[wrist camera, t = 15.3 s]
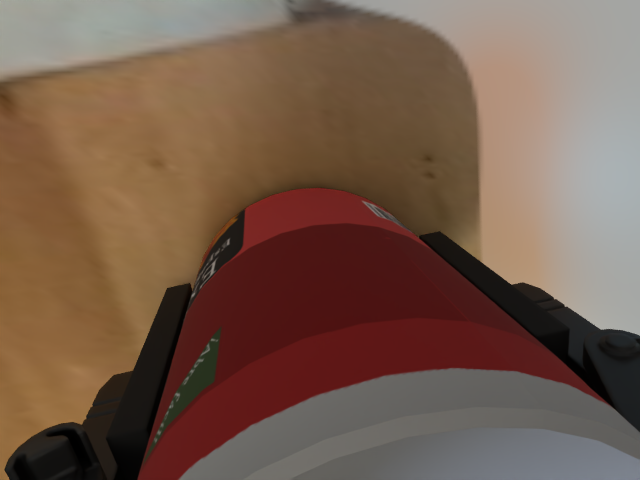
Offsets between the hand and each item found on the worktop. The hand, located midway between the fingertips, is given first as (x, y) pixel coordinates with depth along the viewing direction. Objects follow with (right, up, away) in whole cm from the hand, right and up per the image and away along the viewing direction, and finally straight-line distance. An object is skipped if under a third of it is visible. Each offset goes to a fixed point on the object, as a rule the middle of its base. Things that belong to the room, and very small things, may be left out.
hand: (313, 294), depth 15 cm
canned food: (0, 0, +1) cm, 1 cm away
